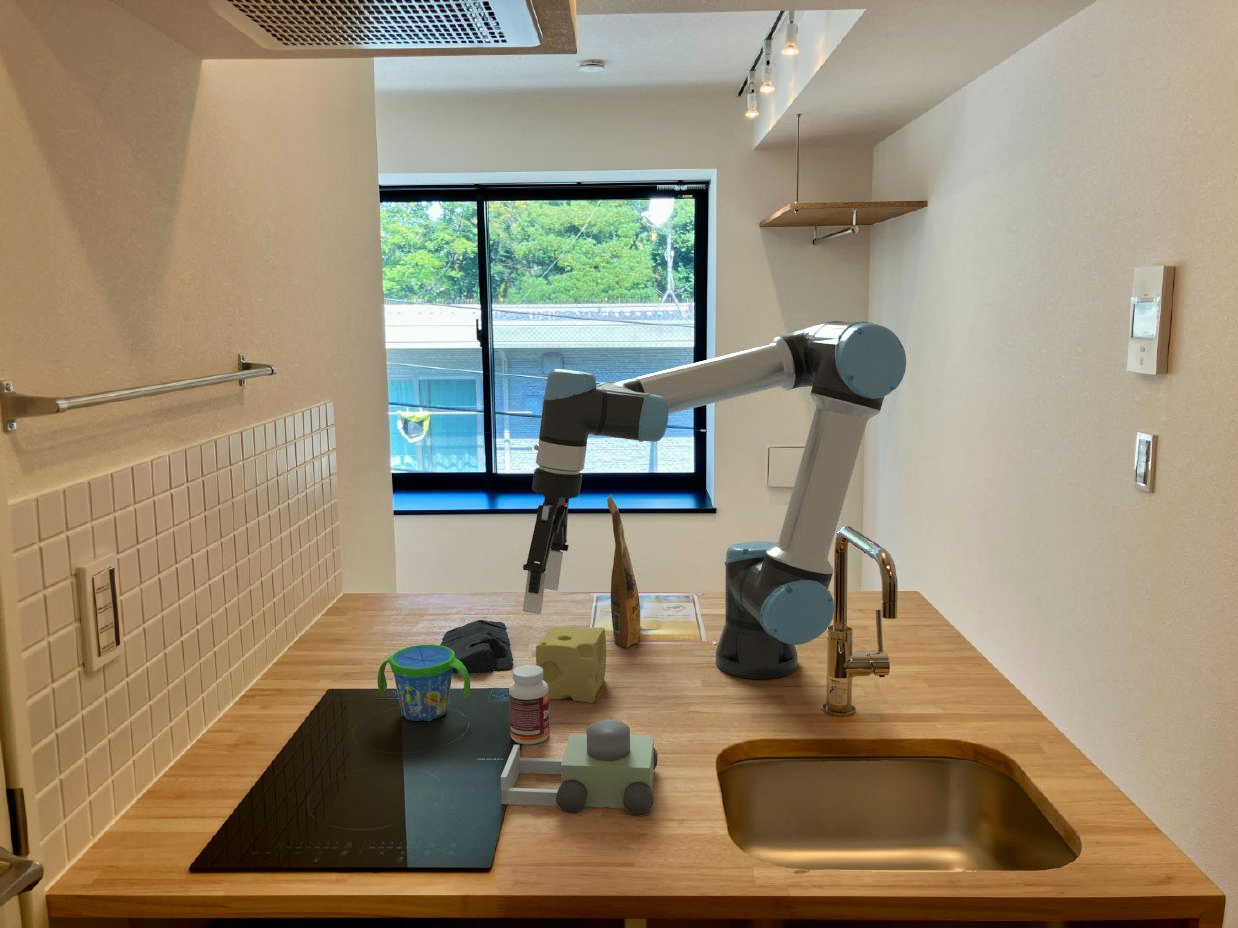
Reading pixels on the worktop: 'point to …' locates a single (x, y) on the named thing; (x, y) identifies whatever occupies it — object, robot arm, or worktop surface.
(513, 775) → the toy lawn mower
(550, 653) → the cheese
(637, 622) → the pancake mix bag
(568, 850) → the worktop surface
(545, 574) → the robot arm
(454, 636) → the dark slate chunk
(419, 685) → the snack cup
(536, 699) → the pill bottle
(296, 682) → the worktop surface
